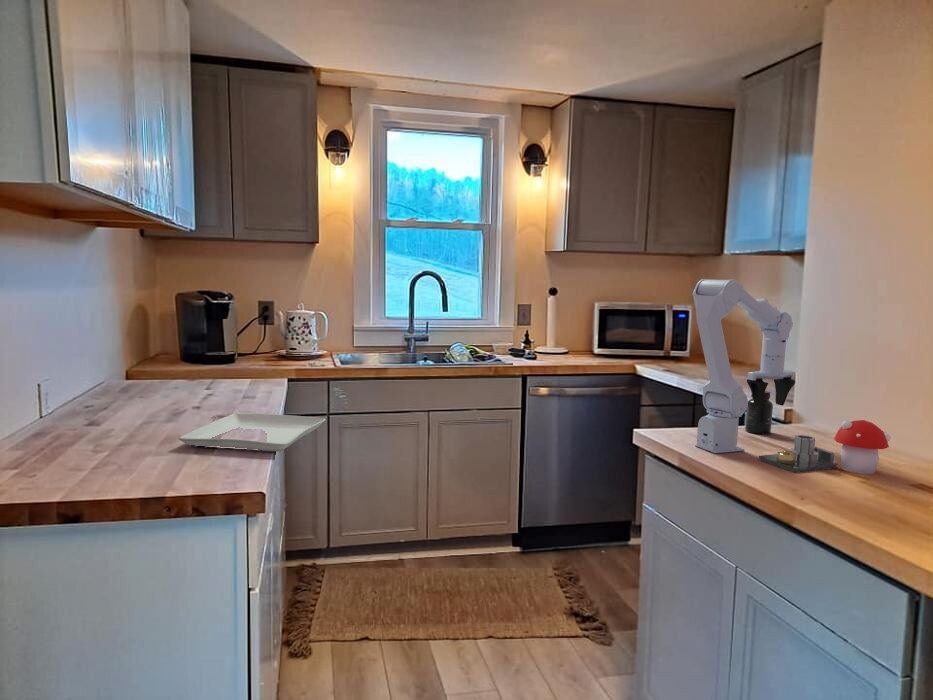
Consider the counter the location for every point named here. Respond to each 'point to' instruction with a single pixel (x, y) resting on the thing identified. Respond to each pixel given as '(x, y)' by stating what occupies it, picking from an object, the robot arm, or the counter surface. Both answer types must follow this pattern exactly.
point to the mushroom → (861, 445)
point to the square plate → (276, 426)
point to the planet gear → (804, 449)
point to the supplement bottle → (759, 416)
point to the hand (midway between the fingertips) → (768, 405)
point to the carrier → (789, 463)
